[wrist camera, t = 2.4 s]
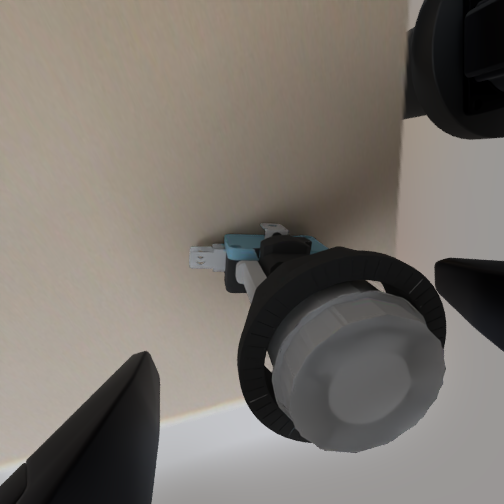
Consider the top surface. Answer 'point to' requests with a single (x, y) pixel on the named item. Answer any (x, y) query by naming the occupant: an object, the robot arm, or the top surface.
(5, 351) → the top surface
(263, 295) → the push button
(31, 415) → the top surface
